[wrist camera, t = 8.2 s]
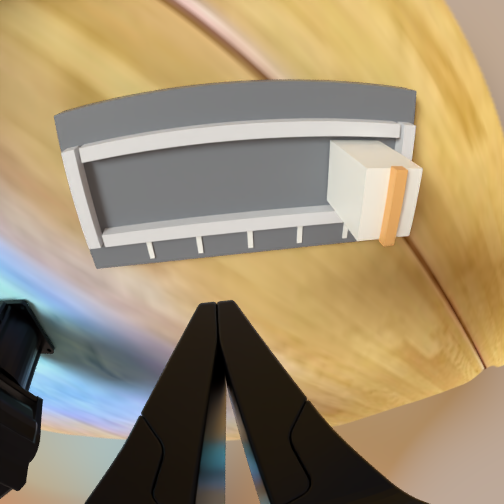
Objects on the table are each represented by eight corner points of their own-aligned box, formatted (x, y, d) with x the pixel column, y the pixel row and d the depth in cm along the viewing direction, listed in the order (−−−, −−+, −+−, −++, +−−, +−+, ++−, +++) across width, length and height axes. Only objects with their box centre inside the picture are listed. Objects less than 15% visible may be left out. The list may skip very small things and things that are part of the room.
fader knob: (371, 198, 18) (413, 242, 14) (326, 201, 18) (360, 248, 14) (378, 139, 16) (429, 170, 12) (330, 138, 16) (372, 170, 12)
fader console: (385, 226, 22) (400, 243, 20) (102, 255, 20) (93, 276, 18) (403, 87, 16) (424, 93, 14) (64, 110, 14) (47, 118, 12)
